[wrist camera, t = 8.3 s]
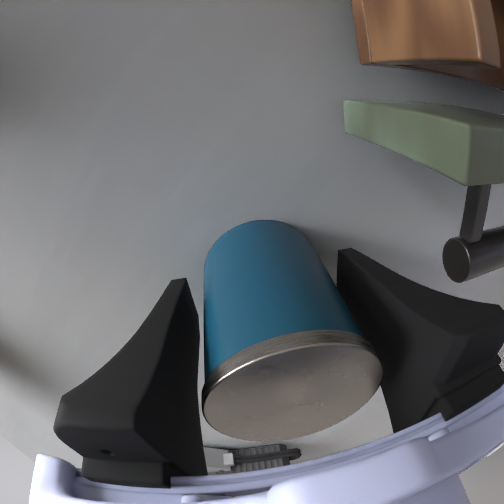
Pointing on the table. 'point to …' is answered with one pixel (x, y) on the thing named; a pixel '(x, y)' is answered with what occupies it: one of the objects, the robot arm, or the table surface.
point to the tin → (279, 338)
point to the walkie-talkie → (248, 459)
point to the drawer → (440, 107)
